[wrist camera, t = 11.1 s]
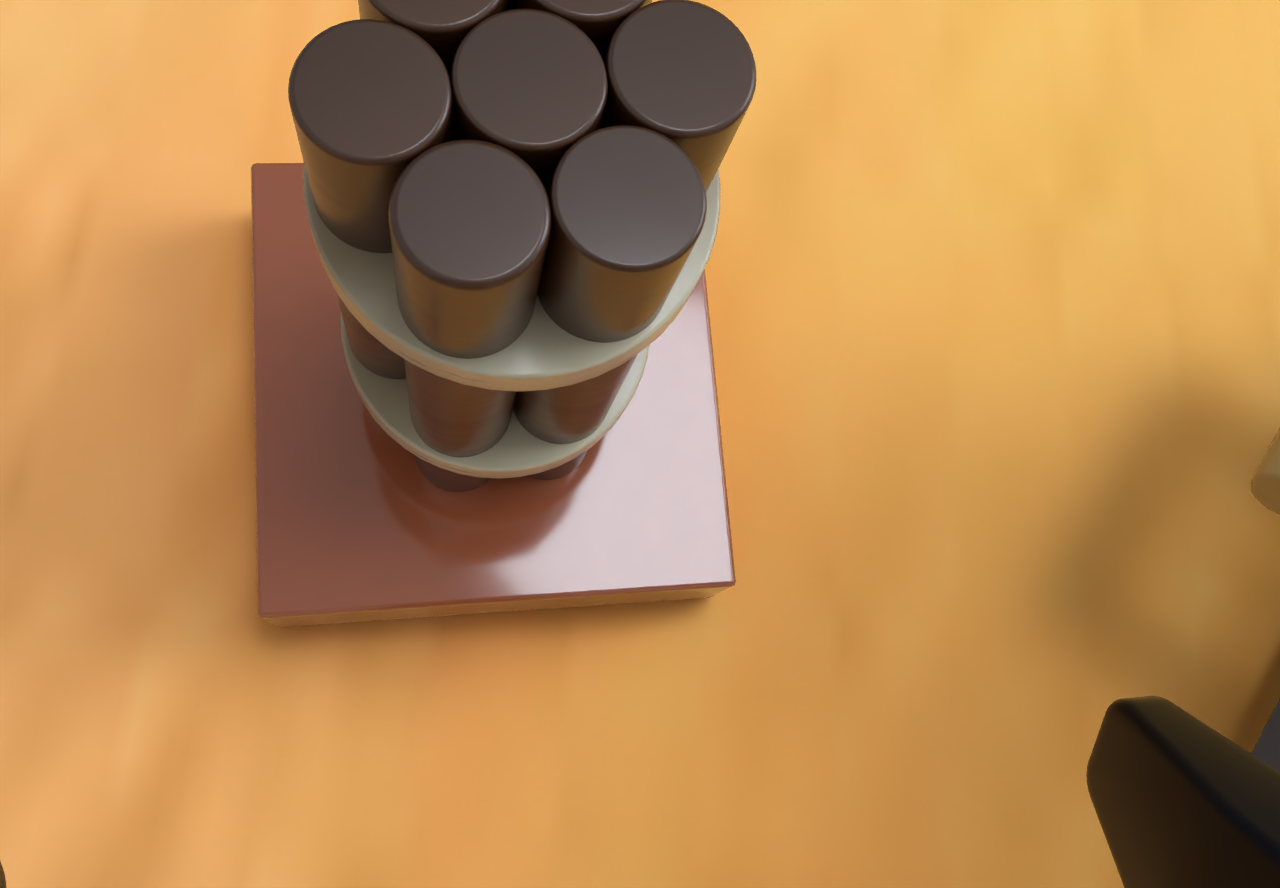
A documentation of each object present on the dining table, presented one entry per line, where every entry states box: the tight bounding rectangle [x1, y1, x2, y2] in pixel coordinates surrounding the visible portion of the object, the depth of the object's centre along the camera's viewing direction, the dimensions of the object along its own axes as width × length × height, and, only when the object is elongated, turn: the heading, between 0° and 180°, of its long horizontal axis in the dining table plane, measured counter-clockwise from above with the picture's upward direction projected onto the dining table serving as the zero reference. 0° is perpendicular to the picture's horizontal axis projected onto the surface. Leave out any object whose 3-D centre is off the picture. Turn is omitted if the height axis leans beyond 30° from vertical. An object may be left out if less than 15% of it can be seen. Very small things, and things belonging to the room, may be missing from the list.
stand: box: [251, 163, 736, 627], centre depth 22 cm, size 8×8×2 cm
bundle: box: [288, 0, 756, 492], centre depth 16 cm, size 5×5×10 cm
